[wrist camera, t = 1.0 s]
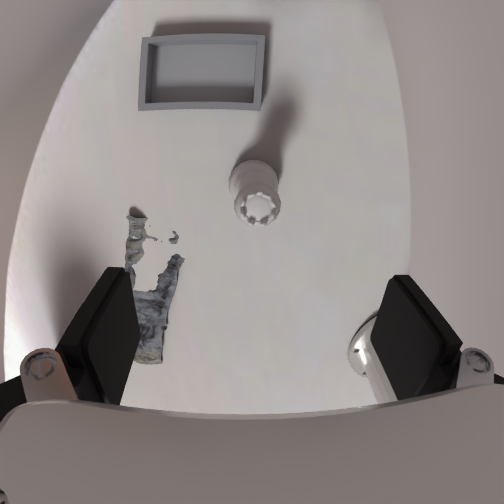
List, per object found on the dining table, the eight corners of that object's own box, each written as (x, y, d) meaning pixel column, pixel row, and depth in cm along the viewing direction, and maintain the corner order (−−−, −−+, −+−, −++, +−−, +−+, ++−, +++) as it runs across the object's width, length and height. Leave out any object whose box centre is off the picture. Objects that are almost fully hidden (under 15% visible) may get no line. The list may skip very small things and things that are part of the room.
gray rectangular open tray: (263, 40, 22) (265, 35, 20) (258, 110, 25) (260, 110, 23) (148, 42, 21) (142, 37, 19) (145, 110, 24) (138, 110, 22)
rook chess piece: (280, 201, 28) (294, 235, 21) (233, 208, 29) (230, 244, 21) (274, 155, 26) (287, 173, 19) (225, 162, 27) (219, 183, 19)
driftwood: (162, 365, 38) (159, 376, 36) (115, 351, 37) (111, 361, 35) (195, 228, 30) (192, 236, 28) (132, 210, 29) (125, 216, 27)
